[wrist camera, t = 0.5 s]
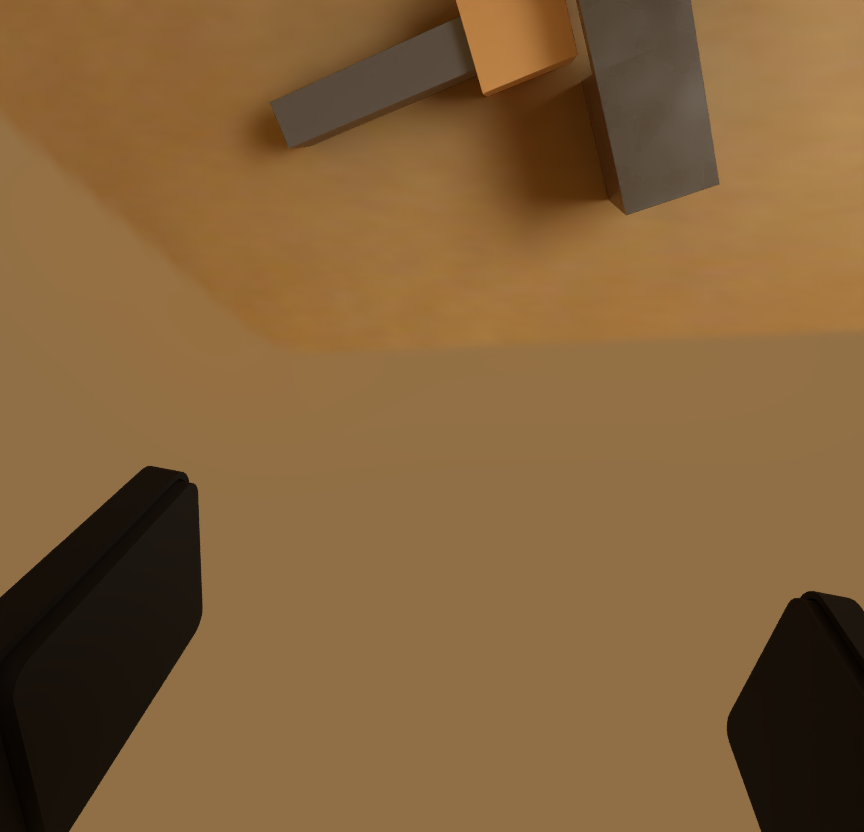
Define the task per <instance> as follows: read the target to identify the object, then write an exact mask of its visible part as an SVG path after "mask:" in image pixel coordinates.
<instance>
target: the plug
mask: <svg viewBox="0 0 864 832" xmlns="http://www.w3.org/2000/svg"><path fill="white" fill-rule="evenodd" d="M456 2H457V6H458V9H459V12H460V17H458V18H455V19H453V20H451V21H449V22H447V23H444V24H442V25H440V26H438V27H435V28H433V29H431V30H429V31H427V32H424V33H422V34H420V35H418V36H416V37H413V38H411V39H409V40H407V41H405V42H402V43H400V44H398V45H396V46H393V47H391V48H389V49H387V50H385V51H382V52H380V53H378V54H376V55H374V56H371V57H369V58H367V59H365V60H362V61H360V62H358V63H356V64H354V65H351V66H349V67H347V68H345V69H343V70H340V71H338V72H336V73H334V74H332V75H329V76H327V77H325V78H323V79H320V80H318V81H316V82H314V83H312V84H309V85H307V86H305V87H303V88H301V89H298V90H296V91H294V92H292V93H290V94H287V95H285V96H283V97H281V98H278V99H276V100H274V101H272V102H270V104H271V107H272V109H273V111H274V114H275V116H276V119H277V121H278V123H279V126H280V128H281V131H282V133H283V136H284V138H285V140H286V143H287V145H288V148H297V147H306V146H311V145H314V144H316V143H318V142H321V141H323V140H326V139H328V138H330V137H333V136H335V135H337V134H340V133H342V132H345V131H347V130H349V129H352V128H354V127H356V126H359V125H361V124H364V123H366V122H368V121H371V120H373V119H375V118H378V117H380V116H383V115H385V114H387V113H390V112H392V111H394V110H397V109H399V108H402V107H404V106H406V105H409V104H411V103H413V102H416V101H418V100H421V99H423V98H425V97H428V96H430V95H432V94H435V93H437V92H440V91H442V90H444V89H447V88H449V87H451V86H454V85H456V84H459V83H461V82H463V81H466V80H468V79H470V78H473V77H475V76H478V79H479V82H480V86H481V89H482V93H483V94H484V95H485V96H487V97H488V96H491V95H493V94H496V93H498V92H500V91H503V90H505V89H508V88H510V87H513V86H515V85H518V84H520V83H522V82H525V81H527V80H530V79H532V78H535V77H537V76H540V75H542V74H544V73H547V72H549V71H552V70H554V69H557V68H559V67H561V66H564V65H566V64H569V63H571V62H572V61H573V60H574V58H575V57H576V56H577V55H578V53H577V49H576V45H575V40H574V36H573V31H572V27H571V22H570V18H569V14H568V9H567V5H566V0H456Z"/></svg>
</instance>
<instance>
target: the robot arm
mask: <svg viewBox="0 0 864 832" xmlns="http://www.w3.org/2000/svg"><path fill="white" fill-rule="evenodd" d="M201 584H202V583H201V558H200V531H199V506H198V489H197V486H196V485H195V484H194V483H189V479H188V477H187V475H186V474H185V473H184V472H180V471H175V470H169V469H164V468H159V467H153V466H147V467H145V468H143V469H142V470H141V471H140V472H139V473H138V474H136V475H135V476H134V477H133V478H132V479H131V480H130V481H129V482H128V483H126V484H125V485H124V486H123V487H122V488H121V489H120V490H119V491H118V492H117V493H116V494H114V495H113V496H112V497H111V498H110V499H109V500H108V501H107V502H105V503H104V504H103V505H102V506H101V507H100V508H99V509H98V510H97V511H96V512H94V513H93V514H92V515H91V516H90V517H89V518H88V519H87V520H86V521H85V522H83V523H82V524H81V525H80V526H79V527H78V528H77V529H76V530H75V531H73V532H72V533H71V534H70V535H69V536H68V537H67V538H66V539H65V540H64V541H62V542H61V543H60V544H59V545H58V546H57V547H56V548H54V549H53V550H52V551H51V552H50V553H49V554H48V555H47V556H46V557H44V558H43V559H42V560H41V561H40V562H39V563H38V564H37V565H36V566H35V567H34V568H33V569H31V570H30V571H29V572H28V573H27V574H26V575H25V576H23V577H22V578H21V579H20V580H19V581H18V582H17V583H16V584H15V585H14V586H12V587H11V588H10V589H9V590H8V591H7V592H6V593H5V594H4V595H2V596H1V597H0V832H69V831H70V829H71V827H72V826H73V824H74V823H75V821H76V820H77V818H78V816H79V815H80V813H81V812H82V810H83V809H84V807H85V806H86V804H87V802H88V801H89V799H90V798H91V796H92V795H93V793H94V791H95V790H96V788H97V787H98V785H99V784H100V782H101V780H102V779H103V777H104V776H105V774H106V773H107V771H108V769H109V768H110V766H111V765H112V763H113V761H114V760H115V758H116V757H117V755H118V754H119V752H120V750H121V749H122V747H123V746H124V744H125V743H126V741H127V739H128V738H129V736H130V735H131V733H132V732H133V730H134V728H135V727H136V725H137V723H138V722H139V721H140V719H141V717H142V716H143V714H144V713H145V711H146V710H147V708H148V706H149V705H150V703H151V702H152V700H153V698H154V697H155V695H156V694H157V692H158V691H159V689H160V688H161V686H162V684H163V683H164V681H165V680H166V678H167V676H168V675H169V673H170V672H171V670H172V668H173V667H174V665H175V664H176V662H177V661H178V659H179V658H180V656H181V654H182V653H183V651H184V650H185V648H186V647H187V645H188V643H189V642H190V640H191V639H192V637H193V636H194V634H195V632H196V630H197V628H198V626H199V623H200V620H201V616H202V585H201ZM727 735H728V739H729V743H730V745H731V748H732V751H733V754H734V757H735V759H736V762H737V765H738V768H739V770H740V774H741V776H742V779H743V782H744V785H745V787H746V790H747V793H748V796H749V798H750V801H751V804H752V807H753V810H754V812H755V815H756V818H757V821H758V823H759V827H760V829H761V832H864V611H863V609H862V608H861V607H860V605H859V604H858V603H856V601H854V600H852V599H850V598H846V597H841V596H836V595H831V594H825V593H820V592H815V591H808V592H806V593H804V594H803V595H802V596H801V598H794V599H793V600H791V601H790V602H789V604H788V605H787V607H786V609H785V611H784V613H783V614H782V616H781V618H780V620H779V622H778V624H777V626H776V627H775V629H774V631H773V633H772V635H771V637H770V639H769V641H768V643H767V644H766V646H765V648H764V650H763V652H762V654H761V656H760V657H759V659H758V661H757V663H756V665H755V667H754V669H753V671H752V672H751V675H750V676H749V678H748V680H747V682H746V684H745V686H744V687H743V689H742V691H741V693H740V695H739V697H738V699H737V701H736V703H735V704H734V706H733V708H732V710H731V712H730V714H729V716H728V721H727Z"/></svg>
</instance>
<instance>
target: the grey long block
mask: <svg viewBox="0 0 864 832" xmlns="http://www.w3.org/2000/svg"><path fill="white" fill-rule="evenodd" d="M576 2H577V7H578V11H579V16H580V20H581V25H582V29H583V34H584V38H585V43H586V47H587V52H588V56H589V61H590V66H591V70H592V75H591V76H590V77H588V78H587V79H585V80H583V81H582V84H583V89H584V93H585V97H586V102H587V106H588V111H589V115H590V119H591V124H592V128H593V132H594V137H595V141H596V146H597V150H598V154H599V159H600V163H601V168H602V172H603V176H604V181H605V185H606V190H607V194H608V198H609V201H611V202H612V203H613V204H614V205H615V206H616V207H617V208H618V209H620V210H621V211H622V212H623V213H624V214H625V215H629V214H632V213H635V212H638V211H641V210H644V209H647V208H650V207H653V206H656V205H659V204H662V203H665V202H668V201H671V200H674V199H677V198H680V197H683V196H686V195H689V194H692V193H695V192H698V191H701V190H704V189H707V188H710V187H713V186H716V185H719V178H718V172H717V166H716V159H715V153H714V146H713V140H712V134H711V127H710V121H709V114H708V108H707V102H706V95H705V89H704V82H703V76H702V70H701V63H700V57H699V50H698V44H697V38H696V31H695V25H694V19H693V12H692V6H691V0H576Z"/></svg>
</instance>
